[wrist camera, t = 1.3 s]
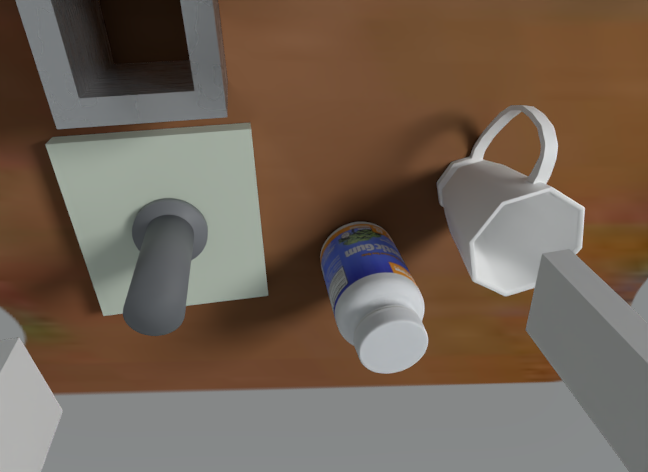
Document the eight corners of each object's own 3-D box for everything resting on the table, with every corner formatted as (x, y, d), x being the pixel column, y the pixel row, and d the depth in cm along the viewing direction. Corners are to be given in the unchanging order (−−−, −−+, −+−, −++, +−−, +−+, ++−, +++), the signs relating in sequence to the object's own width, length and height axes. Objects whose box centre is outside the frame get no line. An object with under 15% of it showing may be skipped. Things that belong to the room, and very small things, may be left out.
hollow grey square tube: (55, -66, 22) (-8, -71, 16) (209, -69, 23) (202, -75, 17) (96, 88, 26) (56, 129, 20) (227, 80, 27) (227, 117, 21)
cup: (406, 226, 34) (451, 296, 27) (445, 83, 29) (511, 124, 22) (494, 231, 35) (558, 298, 28) (545, 95, 30) (637, 137, 24)
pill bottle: (401, 223, 34) (457, 312, 25) (380, 285, 36) (424, 384, 28) (327, 214, 32) (361, 305, 24) (310, 279, 35) (336, 381, 26)
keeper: (52, 137, 27) (-22, 214, 19) (250, 122, 28) (258, 188, 20) (107, 304, 33) (69, 414, 25) (267, 285, 34) (278, 383, 26)
